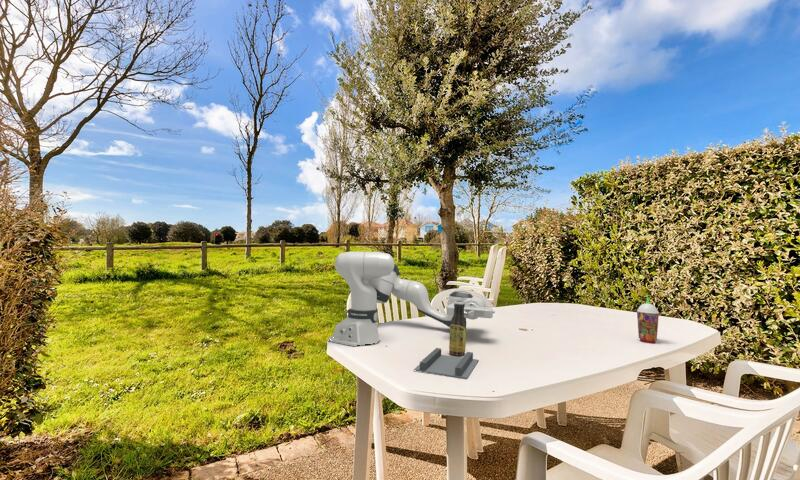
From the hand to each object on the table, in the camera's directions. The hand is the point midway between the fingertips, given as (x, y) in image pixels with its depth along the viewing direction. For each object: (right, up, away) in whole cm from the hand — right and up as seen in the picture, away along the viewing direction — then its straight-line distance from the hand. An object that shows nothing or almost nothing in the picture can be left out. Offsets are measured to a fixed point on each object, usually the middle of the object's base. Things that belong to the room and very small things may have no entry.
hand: (466, 314), depth 156 cm
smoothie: (+84, -14, +10) cm, 85 cm away
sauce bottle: (-6, -13, -14) cm, 20 cm away
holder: (-12, -12, -28) cm, 32 cm away
